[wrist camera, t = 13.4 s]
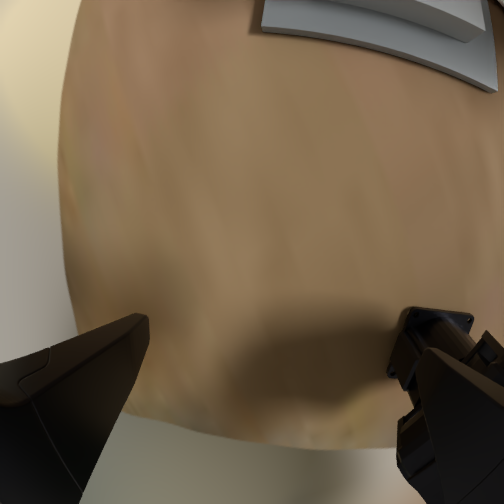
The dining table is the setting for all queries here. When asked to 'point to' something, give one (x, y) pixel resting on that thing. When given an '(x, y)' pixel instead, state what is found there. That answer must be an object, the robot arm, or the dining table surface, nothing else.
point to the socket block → (400, 31)
